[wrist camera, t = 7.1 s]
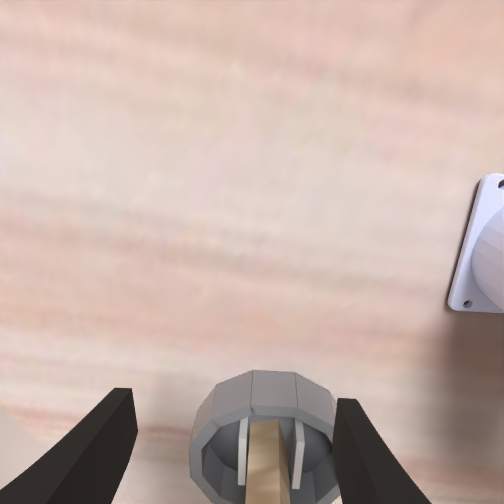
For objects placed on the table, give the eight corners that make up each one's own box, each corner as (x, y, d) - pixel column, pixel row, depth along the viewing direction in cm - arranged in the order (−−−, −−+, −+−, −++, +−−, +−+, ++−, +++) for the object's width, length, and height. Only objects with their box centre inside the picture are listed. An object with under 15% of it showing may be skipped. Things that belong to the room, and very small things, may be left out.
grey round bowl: (352, 375, 24) (363, 411, 21) (334, 482, 28) (341, 524, 25) (195, 367, 24) (186, 400, 21) (200, 473, 28) (192, 514, 25)
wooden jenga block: (278, 418, 25) (280, 529, 18) (287, 449, 26) (292, 563, 19) (250, 422, 25) (243, 533, 19) (260, 452, 26) (257, 566, 20)
